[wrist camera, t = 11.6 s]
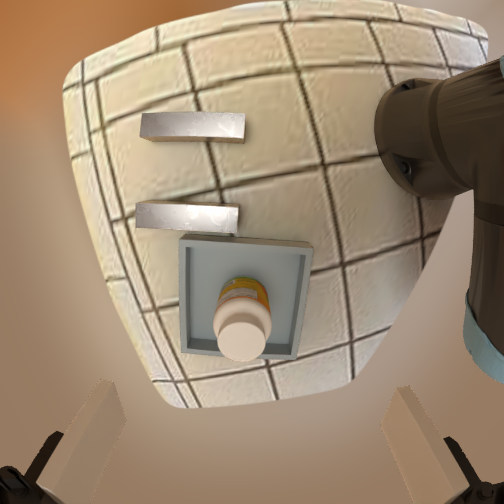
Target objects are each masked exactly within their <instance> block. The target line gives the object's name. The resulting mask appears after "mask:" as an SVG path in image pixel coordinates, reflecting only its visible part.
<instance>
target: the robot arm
mask: <svg viewBox="0 0 504 504" xmlns="http://www.w3.org/2000/svg"><path fill="white" fill-rule="evenodd" d="M375 137H376V143H377V147H378V150H379V154H380V156H381V159H382V161H383V163H384V165H385V167H386V169H387V170H388V172H389V173H390V175H391V176H392V178H393V179H394V180H395V181H396V182H397V183H398V184H399V185H400V186H401V187H402V188H403V189H404V190H406V191H407V192H409V193H411V194H412V195H415V196H417V197H420V198H425V199H432V200H444V199H449V198H451V197H454V196H456V195H459V194H461V193H464V192H466V191H469V190H471V189H473V190H474V238H473V255H472V266H471V276H470V285H469V289H468V291H467V293H466V297H465V304H466V311H465V318H464V325H463V337H464V342H465V345H466V348H467V350H468V352H469V353H470V354H471V355H472V357H473V360H474V362H475V363H476V365H477V366H478V367H479V368H480V369H481V370H482V371H483V372H484V373H486V374H487V375H488V376H489V377H491V378H492V379H494V380H496V381H498V382H500V383H502V384H504V55H503V56H501V58H499V59H497V60H494V61H491V62H489V63H486V64H483V65H480V66H478V67H475V68H473V69H470V70H468V71H465V72H463V73H460V74H458V75H455V76H453V77H451V78H448V79H445V80H439V79H425V78H414V79H408V80H405V81H403V82H401V83H399V84H397V85H395V86H394V87H392V88H391V89H389V90H388V91H387V92H386V93H385V95H384V96H383V97H382V99H381V101H380V103H379V105H378V108H377V111H376V116H375ZM126 421H127V420H126V417H125V414H124V412H123V409H122V406H121V403H120V400H119V397H118V394H117V391H116V388H115V384H114V382H111V381H107V380H102V379H100V380H99V381H98V383H97V384H96V386H95V387H94V389H93V390H92V392H91V393H90V395H89V396H88V398H87V399H86V401H85V402H84V404H83V406H82V407H81V409H80V410H79V412H78V413H77V415H76V416H75V418H74V419H73V421H72V423H71V424H70V426H69V427H68V429H67V431H66V432H65V434H63V433H61V432H59V431H56V432H54V433H53V434H52V435H50V436H49V437H48V438H47V440H46V441H45V443H44V445H43V447H42V448H41V449H40V451H39V453H38V454H37V456H36V457H35V459H34V460H33V462H32V464H31V465H30V467H29V469H28V470H27V472H26V474H25V475H24V476H23V475H21V473H20V472H19V471H18V470H17V469H16V468H14V467H12V466H4V467H2V468H1V469H0V504H91V501H92V498H93V496H94V494H95V491H96V489H97V487H98V484H99V482H100V479H101V477H102V474H103V472H104V470H105V468H106V465H107V463H108V461H109V459H110V456H111V454H112V451H113V449H114V447H115V445H116V443H117V440H118V438H119V436H120V434H121V431H122V429H123V427H124V425H125V423H126ZM380 426H381V428H382V431H383V433H384V435H385V438H386V440H387V442H388V444H389V447H390V449H391V451H392V454H393V456H394V458H395V460H396V463H397V465H398V467H399V470H400V472H401V475H402V477H403V480H404V482H405V484H406V487H407V489H408V492H409V494H410V497H411V499H412V502H413V504H504V482H501V483H497V484H493V485H492V484H491V483H489V482H482V481H481V480H480V479H479V478H478V476H477V474H476V472H475V471H474V469H473V467H472V466H471V464H470V462H469V461H468V459H467V458H466V456H465V454H464V452H462V449H461V448H460V446H459V444H458V443H457V442H456V441H455V440H454V439H452V438H451V437H446V438H444V439H443V438H442V436H441V435H440V433H439V431H438V430H437V428H436V426H435V425H434V423H433V422H432V420H431V418H430V417H429V415H428V414H427V412H426V411H425V409H424V408H423V406H422V404H421V403H420V401H419V400H418V398H417V397H416V395H415V394H414V392H413V390H412V389H411V387H410V386H404V387H398V388H396V390H395V392H394V395H393V397H392V399H391V402H390V404H389V406H388V409H387V411H386V413H385V415H384V417H383V419H382V422H381V424H380Z"/></svg>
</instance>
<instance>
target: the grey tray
mask: <svg viewBox="0 0 504 504" xmlns="http://www.w3.org/2000/svg"><path fill="white" fill-rule="evenodd" d="M312 256H313V247H312V246H311V245H310V244H309V243H308V242H300V241H286V240H272V239H258V238H244V237H229V236H214V235H198V234H184V235H183V236H182V237H181V238H180V239H179V311H180V337H181V353H189V354H198V355H209V356H221V357H226V356H224V355H223V354H222V352H221V351H220V349H219V347H218V342H217V340H218V339H217V337H216V335H215V333H214V329H213V320H214V315H215V311H216V307H217V303H218V298H219V295H220V291H221V289H222V287H223V286H224V284H225V283H226V282H227V281H229V280H230V279H232V278H234V277H237V276H250V277H253V278H255V279H257V280H259V281H260V282H261V283H262V284H263V285H264V287H265V288H266V291H267V294H268V300H269V306H270V313H271V319H272V329H271V333H270V335H269V337H268V339H267V340H266V344H265V348H264V350H263V352H262V353H261V354H260V355H259V356H258V357H257V358H255V359H281V360H296V357H297V352H298V346H299V341H300V335H301V329H302V323H303V317H304V311H305V305H306V299H307V292H308V285H309V278H310V271H311V264H312Z"/></svg>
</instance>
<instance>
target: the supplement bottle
mask: <svg viewBox="0 0 504 504" xmlns="http://www.w3.org/2000/svg"><path fill="white" fill-rule="evenodd" d="M213 329H214V333H215V335H216V337H217V339H218V340H217V342H218V347H219V349H220V351H221V352H222V354H223V355H224V356H226V357H227V358H229V359H231V360H234V361H238V362H247V361H251V360H253V359H255V358H257V357H258V356H259V355H260V354H261V353H262V352H263V350H264V348H265V344H266V340H267V339H268V337H269V335H270V333H271V329H272V319H271V313H270V306H269V300H268V294H267V291H266V288H265V287H264V285H263V284H262V283H261V282H260V281H259V280H257V279H255V278H253V277H250V276H237V277H234V278H232V279H230V280H229V281H227V282H226V283H225V284H224V286H223V287H222V289H221V291H220V295H219V298H218V303H217V307H216V311H215V315H214V320H213Z"/></svg>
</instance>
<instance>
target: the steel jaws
mask: <svg viewBox="0 0 504 504" xmlns="http://www.w3.org/2000/svg"><path fill="white" fill-rule="evenodd" d="M245 124H246V117H245V113H226V112H162V113H143V114H142V119H141V128H140V137H141V138H144V139H146V140H149V141H152V142H168V141H188V142H224V143H242V144H244V136H245ZM238 218H239V204H228V203H211V202H191V201H165V200H147V201H143V202H139V203H136V228H155V229H173V230H190V231H207V232H223V233H237V229H238Z"/></svg>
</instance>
